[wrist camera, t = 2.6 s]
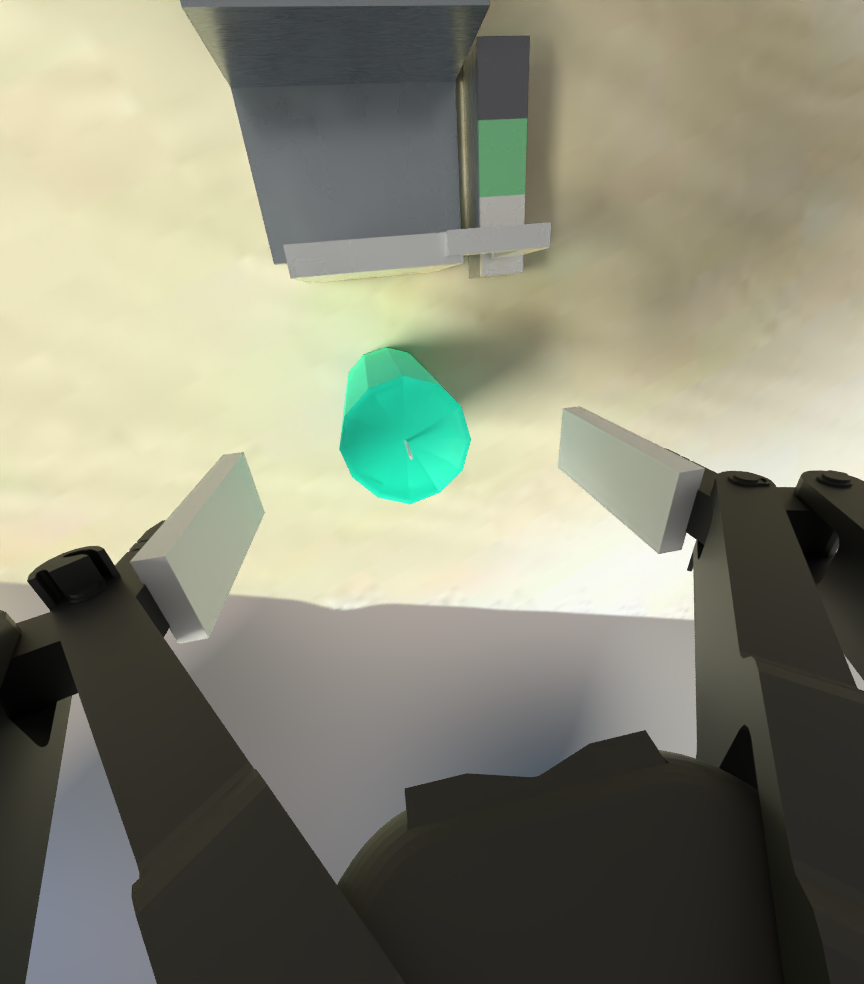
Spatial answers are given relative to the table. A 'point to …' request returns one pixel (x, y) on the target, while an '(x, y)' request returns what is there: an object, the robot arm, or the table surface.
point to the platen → (410, 252)
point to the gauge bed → (373, 116)
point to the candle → (401, 428)
